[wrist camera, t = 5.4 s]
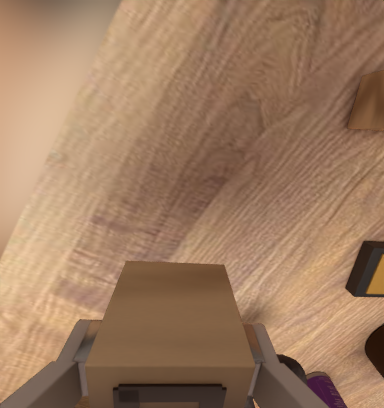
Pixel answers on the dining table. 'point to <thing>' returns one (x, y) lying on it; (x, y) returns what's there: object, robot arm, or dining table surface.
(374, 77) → the tile
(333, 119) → the dining table surface
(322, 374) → the container
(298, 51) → the dining table surface
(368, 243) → the word board
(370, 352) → the olive oil
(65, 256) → the dining table surface
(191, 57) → the dining table surface
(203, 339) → the tile
